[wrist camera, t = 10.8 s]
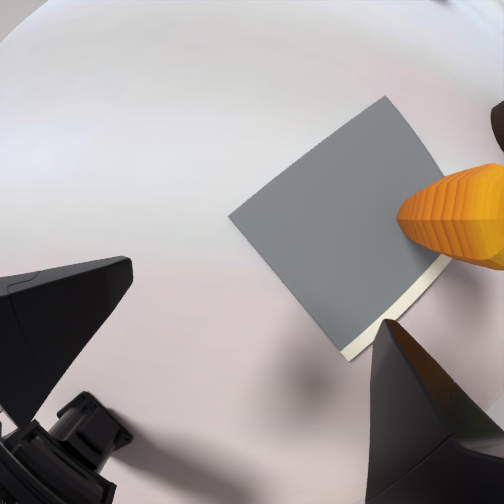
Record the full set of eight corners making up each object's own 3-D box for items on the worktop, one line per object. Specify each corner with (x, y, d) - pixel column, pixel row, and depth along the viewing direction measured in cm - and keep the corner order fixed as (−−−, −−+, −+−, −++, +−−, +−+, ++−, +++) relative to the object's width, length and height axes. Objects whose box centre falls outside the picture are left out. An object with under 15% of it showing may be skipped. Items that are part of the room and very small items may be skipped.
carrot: (374, 255, 19) (555, 305, 4) (368, 186, 19) (547, 136, 4) (427, 248, 19) (591, 276, 4) (421, 185, 19) (585, 155, 4)
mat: (345, 358, 20) (348, 361, 20) (228, 216, 19) (227, 216, 19) (469, 230, 20) (474, 231, 19) (382, 98, 19) (385, 94, 18)
